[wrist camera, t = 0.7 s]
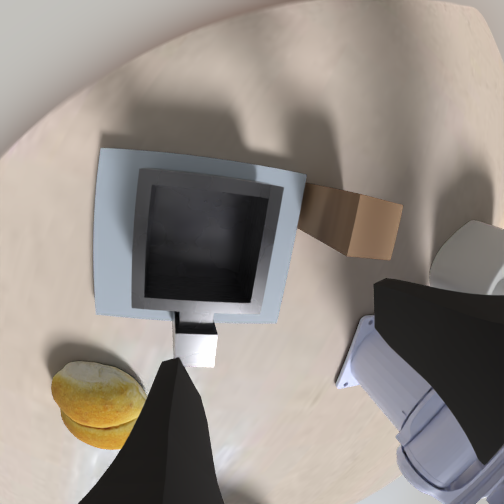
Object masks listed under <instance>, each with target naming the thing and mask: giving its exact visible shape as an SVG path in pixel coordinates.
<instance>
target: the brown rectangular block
mask: <svg viewBox="0 0 504 504" xmlns="http://www.w3.org/2000/svg"><path fill="white" fill-rule="evenodd" d="M402 209H403V205H400V204H397V203H393V202H389V201H386V200H382V199H378V198H374V197H370V196H366V195H362V194H358V193H353V192H349V191H344V190H340V189H335V188H330V187H325V186H320V185H315V184H310V183H305V188H304V193H303V199H302V204H301V210H300V215H299V220H298V225H297V228H298V229H300V230H302V231H304V232H305V233H307V234H309V235H311V236H312V237H314V238H316V239H318V240H320V241H321V242H323V243H325V244H327V245H328V246H330V247H332V248H333V249H335V250H337V251H339V252H340V253H342V254H344V255H345V256H349V257H360V258H371V259H381V260H391V256H392V252H393V248H394V244H395V240H396V236H397V232H398V228H399V223H400V219H401V214H402Z"/></svg>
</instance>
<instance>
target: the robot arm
mask: <svg viewBox="0 0 504 504" xmlns="http://www.w3.org/2000/svg"><path fill="white" fill-rule="evenodd" d="M369 321H370V322H369ZM356 385H361V387H362V388H363V389H364V390H365V391H366V393H367V394H368V395H369V396H370V397H371V399H372V400H373V401H374V402H375V403H376V404H377V406H378V407H379V408H380V409H381V410H382V412H383V413H384V414H385V415H386V416H387V418H388V419H389V420H390V421H391V422H392V423H393V425H394V426H395V427H396V428H397V429H398V431H399V433H398V434H397V435H396V438H397V440H398V441H399V442H400V443H401V445H400V446H399V447H398V448H397V464H398V467H399V469H400V471H401V472H402V474H403V475H404V476H405V478H406V479H407V480H408V481H409V482H410V484H412V485H413V486H414V487H415V488H416V489H418V490H419V491H421V492H423V493H425V494H429V495H431V496H433V497H434V498H436V499H437V500H438V501H440V502H441V503H443V504H476V503H477V502H478V501H479V500H480V499H481V498H485V497H487V502H488V503H489V504H504V295H483V294H471V293H463V292H457V291H450V290H445V289H440V288H435V287H430V286H425V285H421V284H416V283H411V282H406V281H401V280H396V279H388V278H386V279H384V280H381V281H379V282H377V283H375V284H374V315H367V316H364V317H362V318H361V320H360V322H359V325H358V328H357V331H356V333H355V336H354V339H353V342H352V344H351V347H350V350H349V352H348V355H347V357H346V360H345V363H344V365H343V368H342V370H341V372H340V375H339V377H338V380H337V382H336V387H337V388H338V389H341V388H346V387H351V386H356ZM78 504H224V502H223V499H222V496H221V493H220V490H219V486H218V483H217V478H216V474H215V468H214V462H213V456H212V449H211V443H210V436H209V430H208V423H207V419H206V415H205V411H204V407H203V404H202V400H201V396H200V395H199V393H198V391H197V389H196V388H195V386H194V384H193V382H192V380H191V378H190V377H189V375H188V373H187V371H186V369H185V367H184V365H183V363H182V362H181V360H180V358H179V357H177V358H174V359H170V360H167V361H163V362H162V363H161V365H160V367H159V370H158V372H157V375H156V377H155V380H154V382H153V384H152V387H151V389H150V392H149V394H148V396H147V399H146V401H145V403H144V405H143V408H142V410H141V412H140V414H139V416H138V418H137V420H136V422H135V424H134V426H133V428H132V430H131V432H130V434H129V436H128V438H127V440H126V442H125V443H124V445H123V447H122V448H121V450H120V451H119V453H118V455H117V456H116V458H115V459H114V461H113V462H112V464H111V465H110V466H109V468H108V469H107V470H106V472H105V473H104V474H103V476H102V477H101V478H100V479H99V481H98V482H97V483H96V485H95V486H94V487H93V488H92V489H91V490H90V491H89V493H88V494H87V495H86V496H85V497H84V498H83V499H82V500H81V501H80V502H79V503H78Z"/></svg>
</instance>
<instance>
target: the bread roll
mask: <svg viewBox="0 0 504 504" xmlns="http://www.w3.org/2000/svg"><path fill="white" fill-rule="evenodd" d="M51 390H52V395H53V398H54V400H55V402H56V403H57V404H58V406H59V407H60V410H61V417H62V420H63V422H64V424H65V425H66V427H67V428H68V429H69V431H70V432H71V433H72V434H73V435H74V436H75V437H76V438H78V439H79V440H81V441H83V442H85V443H87V444H89V445H91V446H94V447H97V448H101V449H109V450H114V449H121V448H122V447H123V445H124V443H125V442H126V440H127V438H128V436H129V434H130V432H131V430H132V428H133V426H134V424H135V422H136V420H137V418H138V416H139V414H140V412H141V410H142V408H143V405H144V403H145V401H146V399H147V396H146V394H145V392H144V390H143V389H142V387H141V386H140V385H139V384H138V383H137V381H136V380H135V379H134V378H132V377H131V376H130V375H129V374H127V373H126V372H124V371H122V370H120V369H118V368H116V367H112V366H109V365H103V364H100V363H96V362H84V361H76V362H70V363H68V364H66V365H65V367H64V368H63V369H62V370H60V371H59V372H58V373H57V374H56V375H55V376H54V377H53V380H52V386H51Z"/></svg>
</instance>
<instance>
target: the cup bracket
mask: <svg viewBox="0 0 504 504" xmlns="http://www.w3.org/2000/svg"><path fill="white" fill-rule="evenodd" d="M283 191H284V187H282V186H278V185H273V184H269V183H265V182H261V181H254V180H248V179H241V178H234V177H227V176H220V175H212V174H204V173H196V172H188V171H178V170H169V169H158V168H140V169H139V175H138V184H137V193H136V203H135V215H134V228H133V246H132V278H131V305H132V308H135V309H148V310H162V311H173V315H172V329H173V351H174V358H177V357H179V358H180V360H181V362H182V363H183V365H184V366H186V367H214V361H215V353H216V345H217V337H218V334H217V331H216V327H215V324H214V320H213V318H214V313H220V314H260V313H261V308H262V303H263V298H264V293H265V288H266V283H267V278H268V272H269V267H270V262H271V257H272V251H273V246H274V241H275V235H276V230H277V224H278V219H279V213H280V208H281V202H282V197H283Z"/></svg>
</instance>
